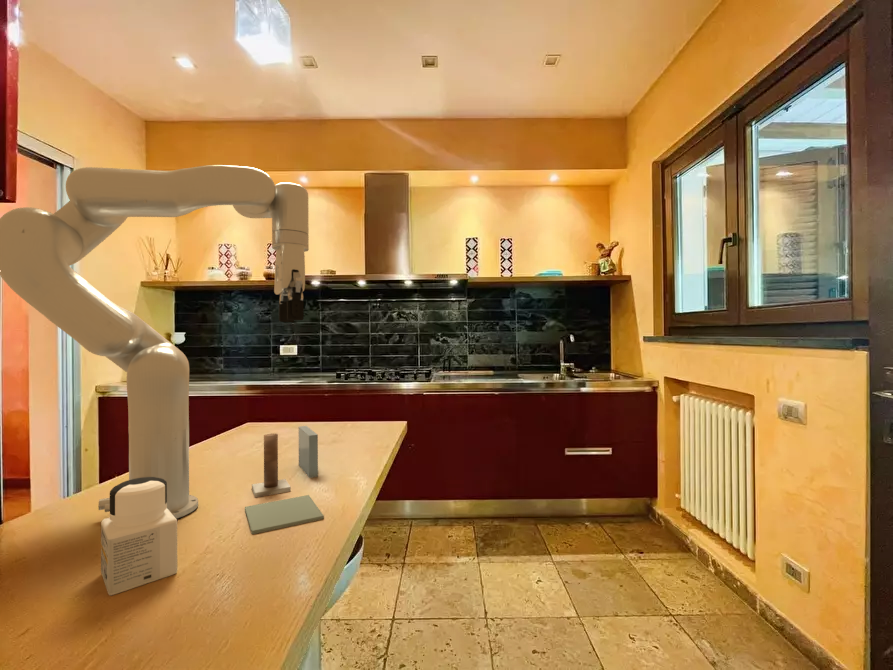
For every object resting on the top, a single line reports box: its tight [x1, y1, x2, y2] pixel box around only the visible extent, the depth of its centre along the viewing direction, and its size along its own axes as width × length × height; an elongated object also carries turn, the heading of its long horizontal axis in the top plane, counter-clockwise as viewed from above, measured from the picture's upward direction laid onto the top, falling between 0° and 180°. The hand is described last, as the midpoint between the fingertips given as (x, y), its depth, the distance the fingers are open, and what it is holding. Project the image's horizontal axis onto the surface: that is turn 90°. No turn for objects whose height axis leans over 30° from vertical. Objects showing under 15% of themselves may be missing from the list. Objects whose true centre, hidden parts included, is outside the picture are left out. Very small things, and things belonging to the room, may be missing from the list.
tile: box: [298, 425, 319, 479], centre depth 107 cm, size 2×12×10 cm, turn 30°
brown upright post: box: [251, 433, 292, 498], centre depth 93 cm, size 7×6×12 cm
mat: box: [244, 494, 325, 535], centre depth 80 cm, size 12×12×1 cm
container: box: [100, 477, 178, 596], centre depth 60 cm, size 8×8×13 cm
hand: (290, 320), depth 94 cm, fingers open, 9 cm apart
